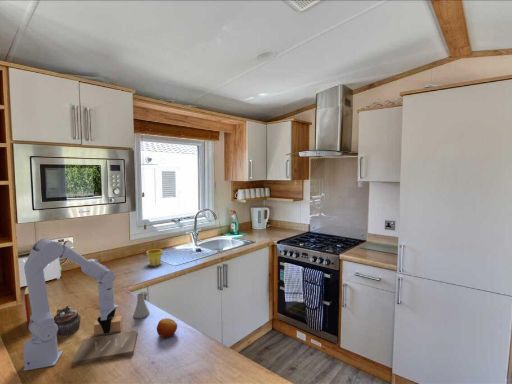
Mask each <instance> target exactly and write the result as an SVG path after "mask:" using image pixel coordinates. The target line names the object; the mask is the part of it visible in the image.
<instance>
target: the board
mask: <svg viewBox="0 0 512 384" xmlns="http://www.w3.org/2000/svg"><path fill="white" fill-rule="evenodd" d="M138 334H139V333H138V329H137V330H130V331H126V332H117V333H111V334H105V335H99V336H94V337H89V338H83V339H82V342H81V343H80V345H79V348H78V350H77V351H76V353H75V355H74V357H73V360H72V361H71V366H72V367H75V366H80V365H85V364H90V363H94V362H95V363H97V362H102V361H107V360H108V361H109V360H113V359H118V358H123V357H128V356H133V355H134V353H135V350H136V349H135V348H136V345H137V338H138Z"/></svg>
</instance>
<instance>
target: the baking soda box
mask: <svg viewBox="0 0 512 384" xmlns="http://www.w3.org/2000/svg"><path fill="white" fill-rule="evenodd" d="M23 296H24V305H25V313H26V322H27V323H26V325H27V330H29V324H30V316H31V315H32V311H31V305H30V299H29V293H28V288H27V286H26V287H25V290H24V295H23Z"/></svg>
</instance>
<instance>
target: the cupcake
mask: <svg viewBox="0 0 512 384" xmlns="http://www.w3.org/2000/svg"><path fill="white" fill-rule="evenodd" d="M81 318H82V317H81V314H80V313H79V311H78V310H76V309H73V308H72V307H71V305H67V306H65V308H62V309H57V310H56V315H55V316H54V317H53V319H54V322H55V323H56V324H57V326H58V332H57V335H58V336H62V337H63V336H68V335H69V336H70V335H72V334H75V333H76V332H77V331H79V329H80V325H81Z"/></svg>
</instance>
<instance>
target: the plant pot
mask: <svg viewBox="0 0 512 384" xmlns="http://www.w3.org/2000/svg"><path fill="white" fill-rule="evenodd" d="M162 255H163V249H160V248H155V249H154V248H153V249H149V250H147V251H146V258H148V262H149V265H150V266H151V267H155V266H159V265H161V259H162Z"/></svg>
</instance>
